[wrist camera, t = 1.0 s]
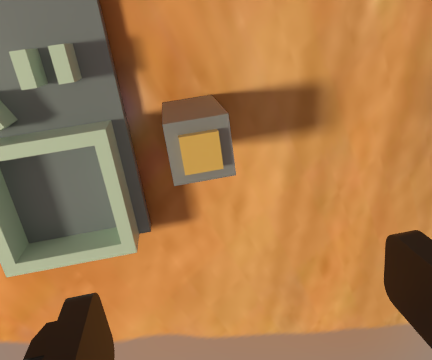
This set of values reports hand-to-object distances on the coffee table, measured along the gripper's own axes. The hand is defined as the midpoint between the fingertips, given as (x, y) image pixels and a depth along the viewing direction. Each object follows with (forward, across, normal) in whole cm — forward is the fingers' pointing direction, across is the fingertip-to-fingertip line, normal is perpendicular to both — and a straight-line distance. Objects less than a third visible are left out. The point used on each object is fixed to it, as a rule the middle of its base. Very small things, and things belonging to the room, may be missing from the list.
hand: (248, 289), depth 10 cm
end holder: (+20, +11, +3) cm, 23 cm away
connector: (+21, 0, 0) cm, 21 cm away
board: (+21, +11, -1) cm, 24 cm away
